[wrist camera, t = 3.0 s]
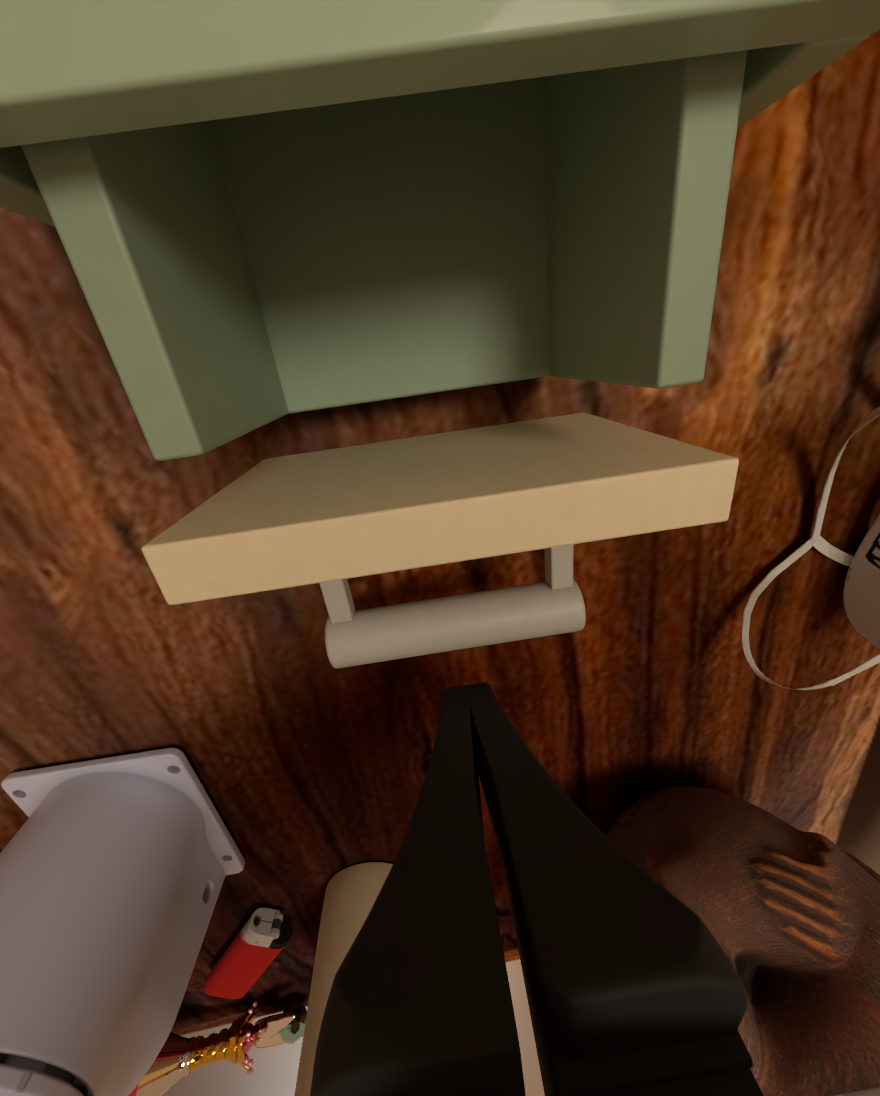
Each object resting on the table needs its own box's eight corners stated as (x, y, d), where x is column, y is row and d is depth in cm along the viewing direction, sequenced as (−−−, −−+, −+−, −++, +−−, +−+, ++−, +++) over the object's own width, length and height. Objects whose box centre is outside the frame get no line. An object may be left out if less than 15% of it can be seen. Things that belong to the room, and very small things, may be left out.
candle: (385, 848, 23) (374, 1157, 14) (434, 891, 26) (450, 1182, 17) (306, 883, 24) (248, 1195, 15) (359, 921, 26) (336, 1215, 17)
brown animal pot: (506, 881, 26) (616, 1446, 12) (553, 725, 20) (842, 1433, 7) (723, 874, 28) (1026, 1362, 14) (820, 729, 22) (1461, 1300, 9)
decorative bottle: (20, 1037, 29) (342, 947, 35) (-55, 1243, 23) (347, 1092, 29) (-36, 1023, 24) (344, 923, 31) (-146, 1275, 19) (351, 1088, 25)
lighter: (200, 994, 26) (247, 931, 23) (209, 967, 27) (254, 904, 24) (244, 1000, 27) (294, 940, 24) (251, 974, 28) (299, 914, 25)
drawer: (581, 558, 16) (698, 690, 9) (307, 600, 15) (243, 763, 9) (596, -157, 8) (1107, -1526, 2) (89, -96, 8) (-820, -1412, 2)
